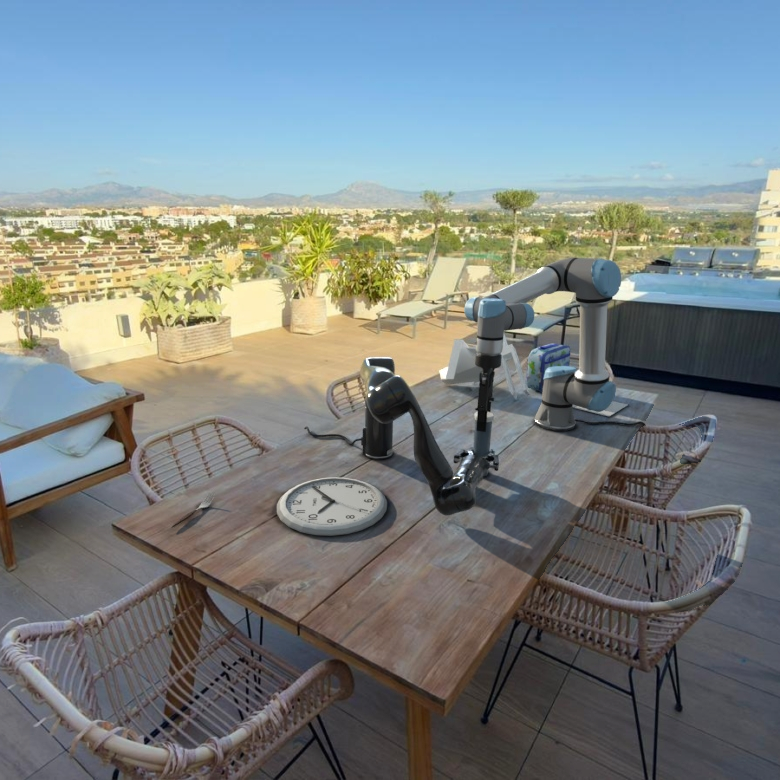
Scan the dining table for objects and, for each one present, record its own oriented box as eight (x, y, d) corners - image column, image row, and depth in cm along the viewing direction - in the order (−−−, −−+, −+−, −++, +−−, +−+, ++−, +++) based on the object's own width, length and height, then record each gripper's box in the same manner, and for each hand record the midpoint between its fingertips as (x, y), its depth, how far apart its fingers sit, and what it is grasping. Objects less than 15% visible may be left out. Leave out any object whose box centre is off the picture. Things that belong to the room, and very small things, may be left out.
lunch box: (542, 395, 240) (547, 351, 233) (522, 390, 247) (526, 347, 241) (569, 384, 257) (575, 343, 251) (550, 380, 264) (554, 339, 258)
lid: (470, 417, 159) (470, 412, 159) (485, 414, 162) (486, 409, 161) (481, 423, 154) (481, 418, 154) (497, 420, 157) (497, 415, 156)
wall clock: (392, 527, 129) (268, 531, 127) (391, 533, 130) (269, 537, 127) (383, 473, 158) (282, 475, 155) (383, 478, 158) (282, 480, 156)
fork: (167, 528, 130) (166, 521, 130) (209, 498, 145) (208, 492, 144) (175, 530, 130) (174, 523, 129) (216, 500, 144) (216, 494, 143)
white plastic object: (461, 429, 252) (437, 405, 227) (444, 352, 274) (420, 323, 250) (535, 404, 240) (518, 377, 215) (510, 326, 262) (492, 293, 237)
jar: (483, 468, 166) (487, 413, 161) (490, 475, 162) (495, 418, 156) (469, 470, 165) (472, 414, 159) (475, 477, 160) (479, 419, 155)
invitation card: (608, 416, 214) (573, 407, 224) (608, 416, 214) (573, 408, 224) (628, 404, 229) (594, 396, 238) (628, 405, 229) (594, 397, 238)
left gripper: (496, 465, 145) (506, 443, 160) (446, 456, 150) (461, 435, 165) (494, 489, 147) (504, 465, 162) (445, 479, 152) (459, 457, 167)
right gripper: (481, 344, 162) (476, 413, 169) (469, 359, 143) (464, 436, 150) (505, 346, 160) (499, 416, 167) (497, 362, 141) (491, 440, 148)
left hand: (482, 450), depth 164 cm, fingers closed on jar, 5 cm apart
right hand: (483, 426), depth 159 cm, fingers open, 8 cm apart
